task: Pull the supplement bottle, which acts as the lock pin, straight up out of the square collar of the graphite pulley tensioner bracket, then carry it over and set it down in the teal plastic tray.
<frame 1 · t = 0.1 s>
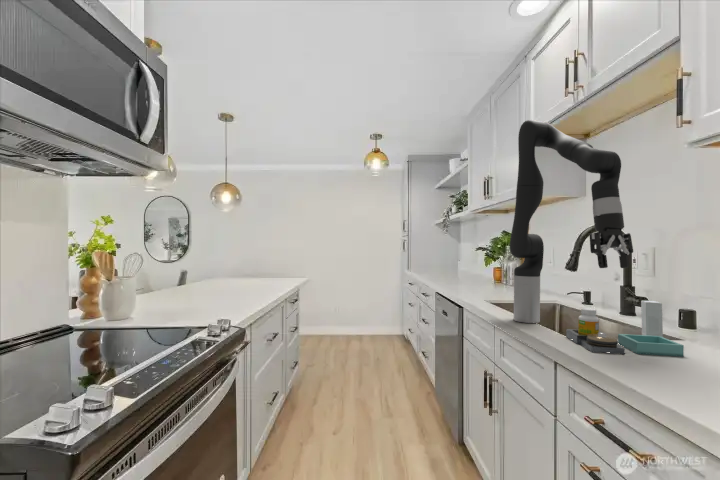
hand: (614, 267, 117), 22 cm above the counter, tool pointing down, fingers open, 8 cm apart
supplement bottle: (588, 342, 120), resting in tensioner bracket
tray: (648, 350, 110), on the counter
tensioner bracket: (588, 341, 120), on the counter
skincare box: (651, 341, 122), on the counter
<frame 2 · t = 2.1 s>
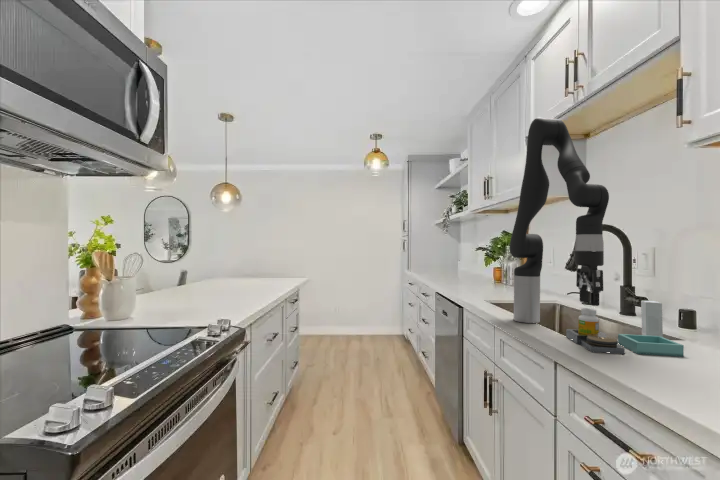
hand: (589, 303, 119), 11 cm above the counter, tool pointing down, fingers open, 8 cm apart
nothing on the counter moved.
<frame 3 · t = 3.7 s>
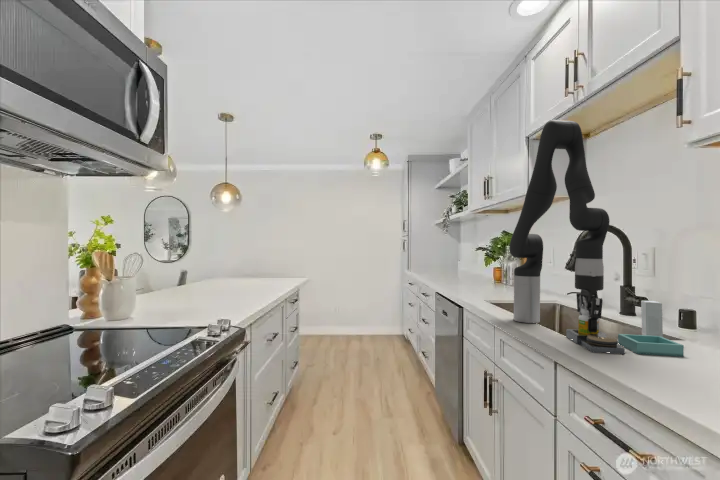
hand: (588, 329, 120), 4 cm above the counter, tool pointing down, fingers closed on supplement bottle, 5 cm apart
supplement bottle: (588, 342, 120), resting in tensioner bracket, touching gripper
everything else where it was.
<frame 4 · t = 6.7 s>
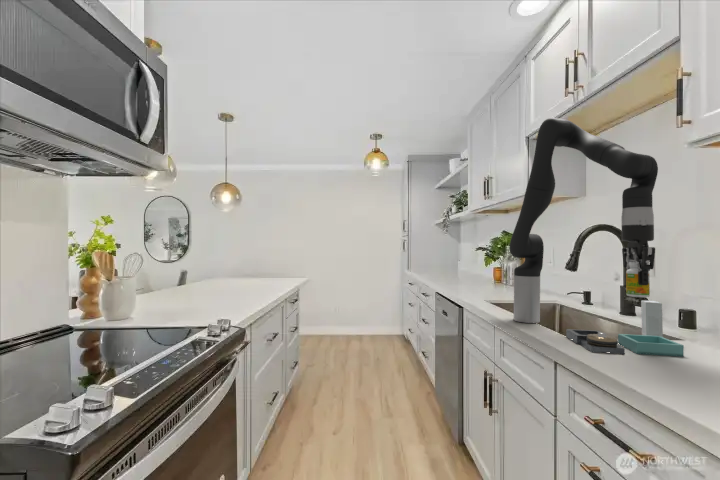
hand: (637, 283, 112), 18 cm above the counter, tool pointing down, fingers closed on supplement bottle, 5 cm apart
supplement bottle: (637, 297, 112), point 14 cm above the counter, touching gripper
everything else where it was.
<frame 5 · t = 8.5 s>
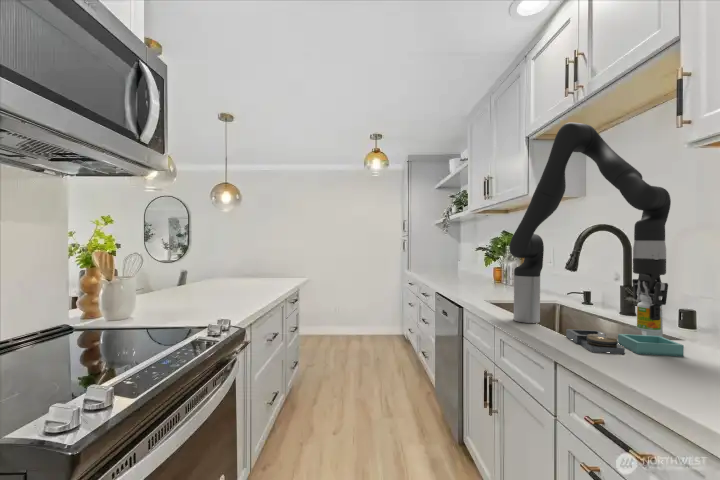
hand: (648, 317, 110), 9 cm above the counter, tool pointing down, fingers closed on supplement bottle, 5 cm apart
supplement bottle: (648, 331, 110), point 5 cm above the counter, touching gripper
everything else where it was.
when the fingers open (6 cm above the counter, at t = 10.0 s): supplement bottle drops 2 cm, resting on tray.
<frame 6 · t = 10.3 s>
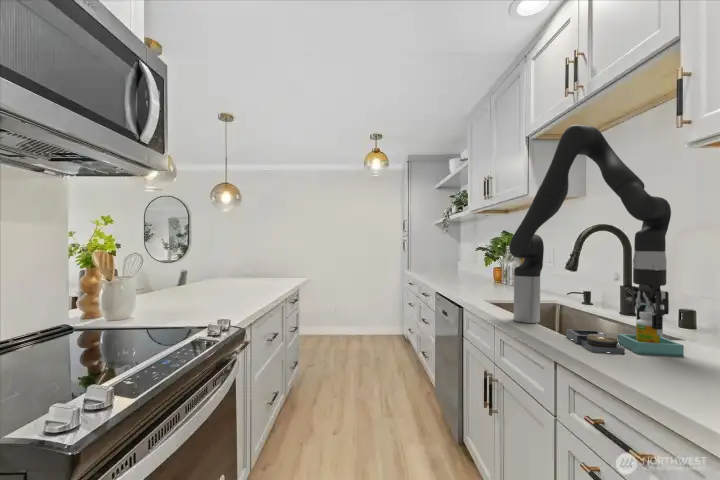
hand: (649, 326, 110), 7 cm above the counter, tool pointing down, fingers open, 8 cm apart
supplement bottle: (647, 348, 111), resting on tray
everything else where it was.
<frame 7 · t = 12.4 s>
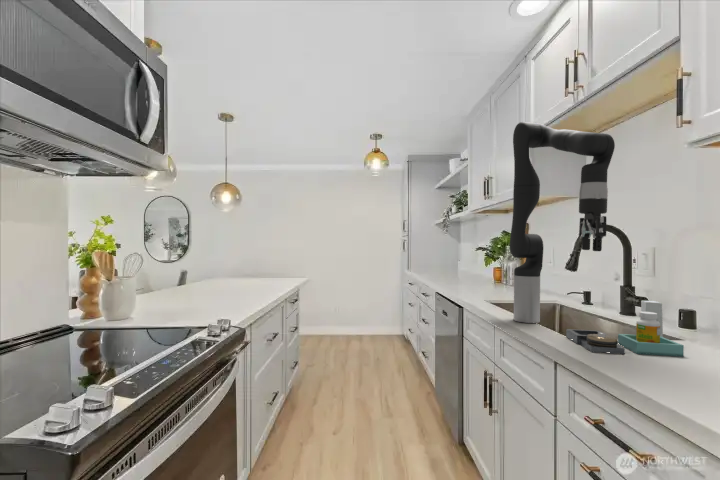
hand: (591, 250, 123), 27 cm above the counter, tool pointing down, fingers open, 8 cm apart
nothing on the counter moved.
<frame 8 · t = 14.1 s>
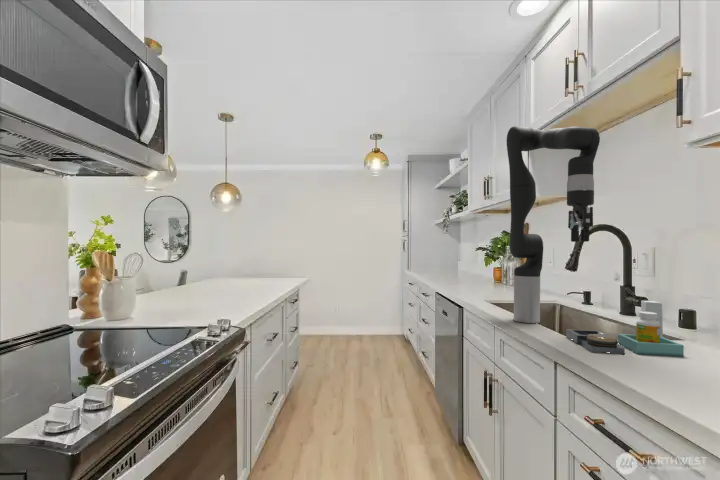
hand: (579, 241, 125), 30 cm above the counter, tool pointing down, fingers open, 8 cm apart
nothing on the counter moved.
at the end: supplement bottle 0.3 cm off-centre on the tray, point 0.4 cm above the tray's base; the gripper is holding nothing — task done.
